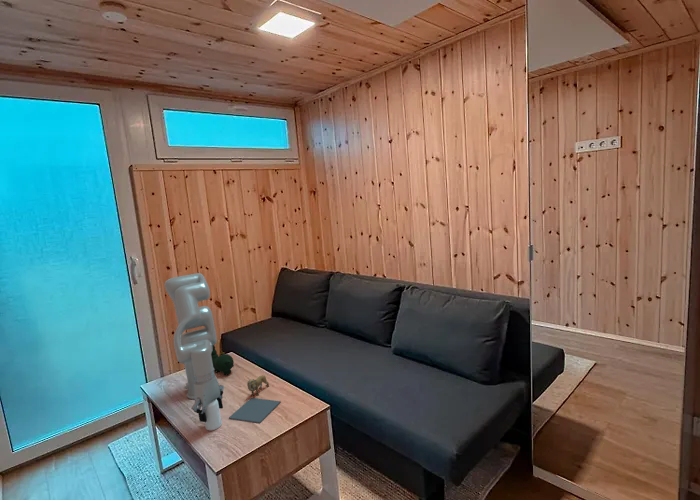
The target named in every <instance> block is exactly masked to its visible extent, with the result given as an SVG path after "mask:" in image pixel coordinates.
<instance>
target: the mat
mask: <svg viewBox="0 0 700 500" xmlns="http://www.w3.org/2000/svg"><path fill="white" fill-rule="evenodd" d="M281 403H282V402H281V400H274V399H265V398H256V397H250V398H249V399H248V400H246V402H245V403H244V404H242V405H241V406H240V407H239V408H238V409H237V410H235V412H233V413H232V414H231V415H230V416H229V417H228V420H229V419H230V420H233V421H240V422H241V421H242V422H249V423H255V424H261V423H263V421H264V420H265V419H266V418H267V417H268V416H269V415H270V414H271V413H272V412H273V411H274V410H275V409H276V408H277V407H278V406H279V405H280V404H281Z"/></svg>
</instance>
